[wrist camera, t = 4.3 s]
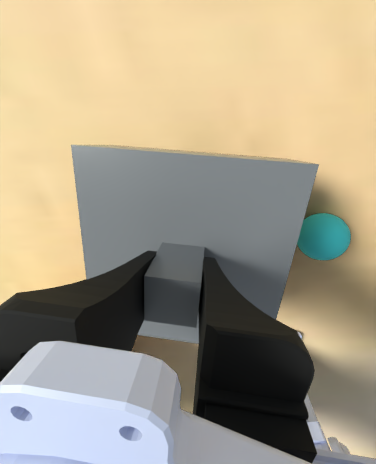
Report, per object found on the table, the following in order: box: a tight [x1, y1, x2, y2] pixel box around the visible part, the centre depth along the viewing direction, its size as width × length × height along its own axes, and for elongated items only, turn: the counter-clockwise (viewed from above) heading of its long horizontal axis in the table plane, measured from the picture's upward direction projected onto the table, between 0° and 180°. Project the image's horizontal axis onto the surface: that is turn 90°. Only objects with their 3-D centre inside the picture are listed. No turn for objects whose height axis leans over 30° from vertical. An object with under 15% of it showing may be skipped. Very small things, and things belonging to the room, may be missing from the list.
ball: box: [297, 213, 351, 260], centre depth 19 cm, size 4×4×4 cm
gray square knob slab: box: [71, 145, 319, 344], centre depth 14 cm, size 12×12×8 cm
